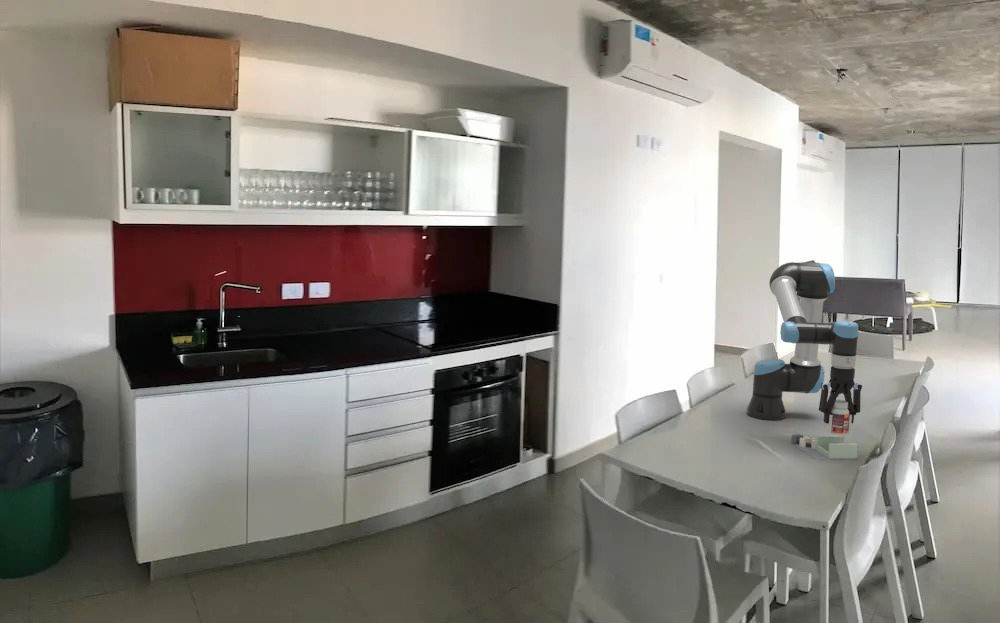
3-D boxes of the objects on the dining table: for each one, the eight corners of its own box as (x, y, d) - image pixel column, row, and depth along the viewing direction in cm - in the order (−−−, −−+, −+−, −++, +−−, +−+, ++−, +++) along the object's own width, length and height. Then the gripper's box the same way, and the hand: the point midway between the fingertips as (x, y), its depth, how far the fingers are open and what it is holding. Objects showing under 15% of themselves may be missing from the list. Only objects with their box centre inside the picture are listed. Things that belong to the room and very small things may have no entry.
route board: (789, 444, 267) (790, 433, 266) (829, 444, 268) (830, 433, 267) (814, 462, 248) (815, 450, 248) (857, 462, 249) (858, 450, 249)
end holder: (815, 449, 258) (816, 435, 257) (841, 449, 259) (843, 435, 258) (829, 458, 249) (830, 444, 248) (856, 458, 249) (857, 444, 248)
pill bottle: (846, 437, 248) (849, 404, 247) (826, 434, 251) (829, 402, 250) (848, 432, 254) (850, 400, 252) (828, 429, 257) (831, 398, 255)
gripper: (821, 368, 245) (816, 435, 248) (876, 369, 246) (870, 435, 249) (810, 364, 252) (805, 429, 256) (864, 364, 254) (858, 429, 257)
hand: (837, 432), depth 252 cm, fingers closed on pill bottle, 6 cm apart
